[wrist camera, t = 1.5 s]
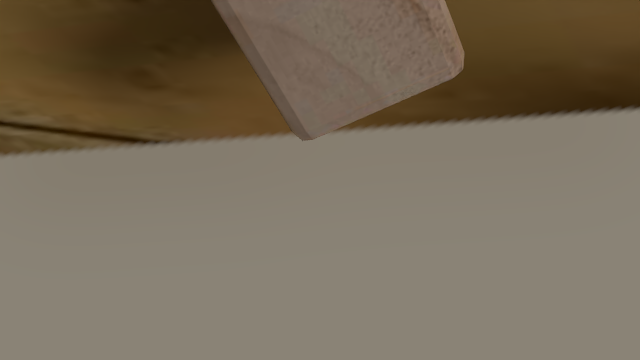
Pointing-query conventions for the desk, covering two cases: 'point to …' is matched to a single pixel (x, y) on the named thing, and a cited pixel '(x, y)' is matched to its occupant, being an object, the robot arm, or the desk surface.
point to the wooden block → (343, 54)
